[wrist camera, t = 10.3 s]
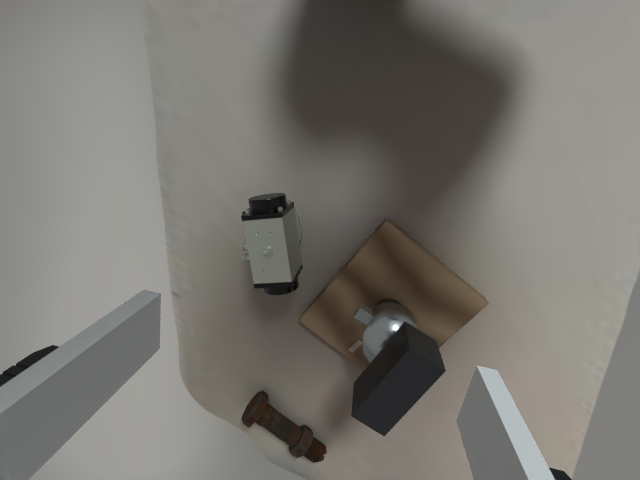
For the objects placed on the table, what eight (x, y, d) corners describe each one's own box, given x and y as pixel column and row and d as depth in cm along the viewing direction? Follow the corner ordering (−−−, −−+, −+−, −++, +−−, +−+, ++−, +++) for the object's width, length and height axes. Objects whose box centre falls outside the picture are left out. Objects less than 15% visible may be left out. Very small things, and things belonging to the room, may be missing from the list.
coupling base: (386, 218, 47) (387, 227, 42) (485, 298, 48) (497, 315, 43) (300, 315, 53) (293, 333, 49) (390, 384, 55) (392, 407, 50)
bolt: (321, 438, 62) (255, 391, 61) (335, 437, 59) (266, 386, 57) (307, 473, 58) (236, 423, 57) (321, 474, 55) (246, 421, 53)
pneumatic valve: (299, 185, 47) (276, 201, 36) (310, 264, 51) (292, 302, 39) (261, 189, 48) (227, 205, 37) (274, 266, 52) (246, 304, 40)
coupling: (337, 332, 47) (325, 400, 35) (379, 277, 44) (381, 330, 32) (400, 371, 48) (409, 451, 35) (445, 319, 44) (473, 388, 32)
